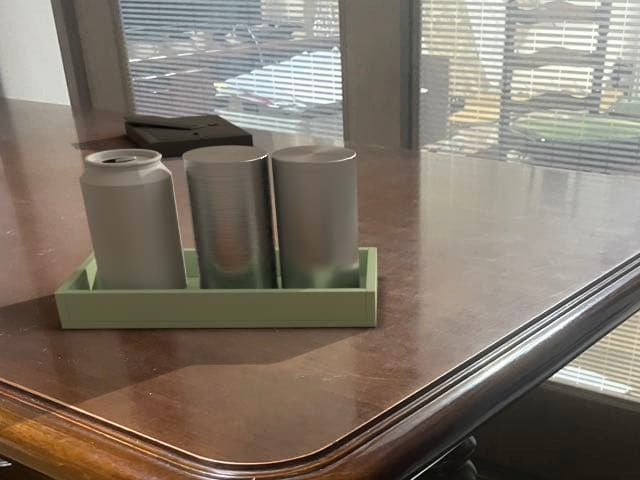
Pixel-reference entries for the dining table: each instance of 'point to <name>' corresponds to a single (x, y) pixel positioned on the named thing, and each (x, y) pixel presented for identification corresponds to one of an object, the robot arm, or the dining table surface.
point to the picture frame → (184, 133)
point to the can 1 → (133, 220)
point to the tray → (216, 302)
